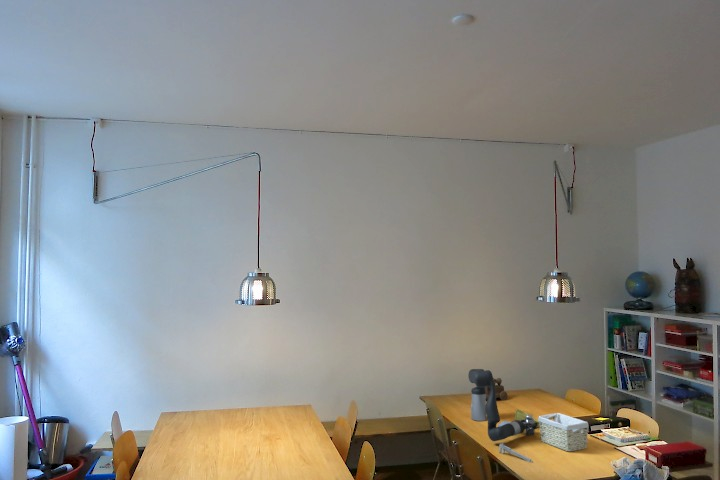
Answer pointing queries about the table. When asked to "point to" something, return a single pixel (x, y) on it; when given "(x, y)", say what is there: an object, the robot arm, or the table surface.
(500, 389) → the wooden toy train
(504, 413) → the table surface
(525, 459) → the caliper
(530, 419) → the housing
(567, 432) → the storage basket
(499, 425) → the stand
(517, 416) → the plastic component
